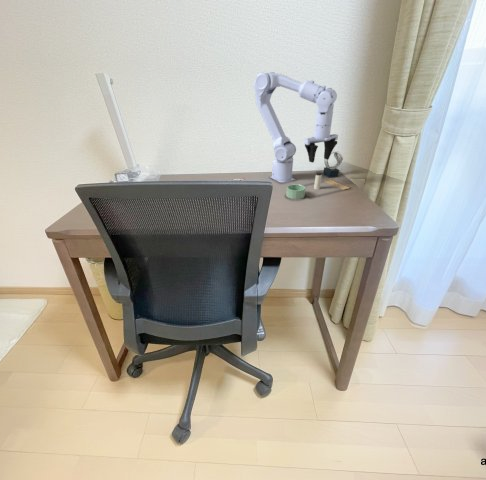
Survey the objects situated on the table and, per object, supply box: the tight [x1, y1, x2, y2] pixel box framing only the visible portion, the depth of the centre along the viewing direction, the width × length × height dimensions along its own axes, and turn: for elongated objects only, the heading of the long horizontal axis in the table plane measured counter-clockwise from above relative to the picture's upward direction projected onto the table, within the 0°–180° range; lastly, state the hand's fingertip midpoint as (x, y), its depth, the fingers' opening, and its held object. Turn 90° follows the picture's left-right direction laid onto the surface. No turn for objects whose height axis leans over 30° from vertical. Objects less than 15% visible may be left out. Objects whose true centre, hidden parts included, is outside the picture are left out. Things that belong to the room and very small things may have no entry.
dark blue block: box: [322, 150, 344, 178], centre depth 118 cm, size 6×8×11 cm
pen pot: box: [285, 183, 307, 200], centre depth 101 cm, size 7×7×4 cm
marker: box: [313, 170, 323, 190], centre depth 105 cm, size 2×2×7 cm
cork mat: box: [323, 179, 351, 191], centre depth 107 cm, size 12×20×1 cm, turn 112°
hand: (318, 160), depth 106 cm, fingers open, 7 cm apart
